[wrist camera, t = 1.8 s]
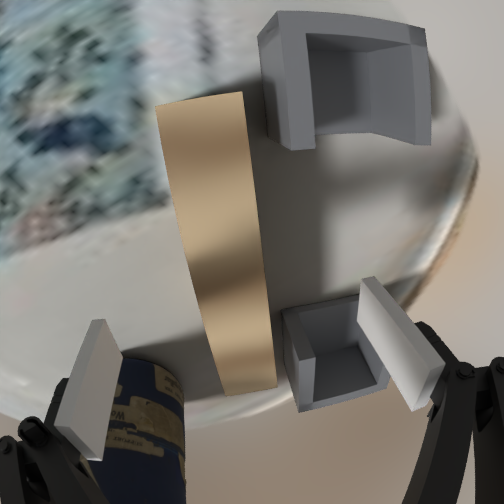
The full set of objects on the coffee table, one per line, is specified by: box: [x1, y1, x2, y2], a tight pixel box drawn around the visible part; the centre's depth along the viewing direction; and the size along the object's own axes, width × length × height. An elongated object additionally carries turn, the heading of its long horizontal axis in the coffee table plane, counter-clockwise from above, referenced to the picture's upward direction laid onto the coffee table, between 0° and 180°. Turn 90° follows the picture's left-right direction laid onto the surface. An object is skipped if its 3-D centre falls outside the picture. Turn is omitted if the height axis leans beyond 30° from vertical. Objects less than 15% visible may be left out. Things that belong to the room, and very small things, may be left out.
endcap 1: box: [257, 11, 431, 151], centre depth 15 cm, size 7×8×6 cm
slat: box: [155, 92, 277, 396], centre depth 20 cm, size 20×4×6 cm, turn 7°
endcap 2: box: [281, 294, 391, 413], centre depth 25 cm, size 7×8×6 cm
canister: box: [80, 359, 186, 504], centre depth 20 cm, size 10×10×18 cm
